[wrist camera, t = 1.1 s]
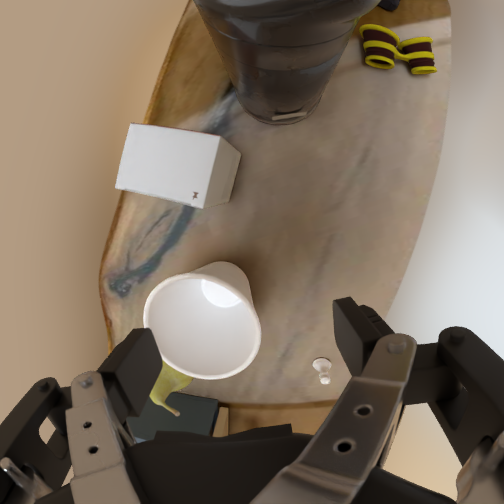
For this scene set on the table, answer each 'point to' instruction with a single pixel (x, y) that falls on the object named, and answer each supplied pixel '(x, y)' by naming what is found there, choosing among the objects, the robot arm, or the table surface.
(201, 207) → the small box
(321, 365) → the chess pawn
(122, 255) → the table surface
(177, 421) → the cabinet
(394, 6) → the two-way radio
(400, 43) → the opera glasses
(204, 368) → the cup
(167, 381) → the fruit
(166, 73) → the table surface
